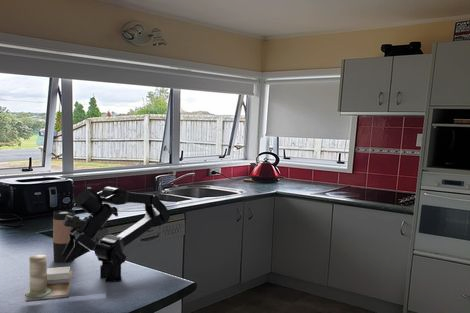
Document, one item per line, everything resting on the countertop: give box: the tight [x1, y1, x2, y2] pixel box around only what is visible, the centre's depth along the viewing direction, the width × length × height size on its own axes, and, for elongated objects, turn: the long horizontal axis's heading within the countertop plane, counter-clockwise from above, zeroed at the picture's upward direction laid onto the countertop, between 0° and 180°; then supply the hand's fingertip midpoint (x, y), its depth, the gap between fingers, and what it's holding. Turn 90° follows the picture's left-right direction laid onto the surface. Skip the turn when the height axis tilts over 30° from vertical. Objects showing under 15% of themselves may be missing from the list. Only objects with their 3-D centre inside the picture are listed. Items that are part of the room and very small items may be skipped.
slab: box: [47, 266, 71, 285], centre depth 135 cm, size 9×6×4 cm, turn 108°
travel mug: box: [52, 209, 75, 264], centre depth 157 cm, size 8×8×20 cm
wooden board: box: [25, 269, 74, 303], centre depth 135 cm, size 13×22×2 cm, turn 18°
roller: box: [29, 254, 48, 295], centre depth 127 cm, size 5×5×11 cm
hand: (64, 258), depth 132 cm, fingers open, 9 cm apart
